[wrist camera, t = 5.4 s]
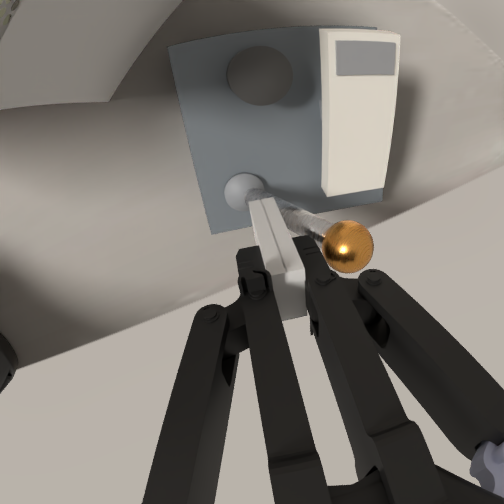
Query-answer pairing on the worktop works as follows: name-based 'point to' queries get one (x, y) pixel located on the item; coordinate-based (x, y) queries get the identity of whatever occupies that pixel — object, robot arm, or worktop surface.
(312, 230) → the lever
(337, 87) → the white flat bar
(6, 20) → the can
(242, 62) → the button
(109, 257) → the worktop surface
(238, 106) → the panel
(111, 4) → the grater
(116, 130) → the worktop surface
